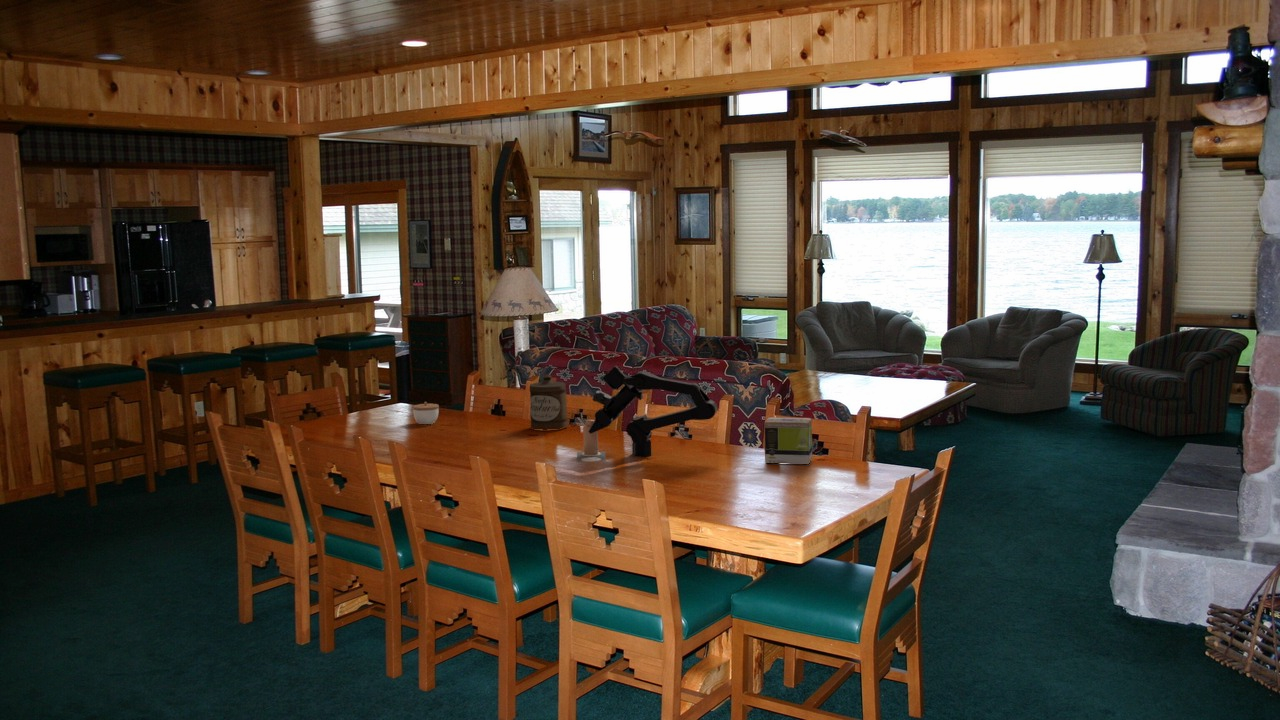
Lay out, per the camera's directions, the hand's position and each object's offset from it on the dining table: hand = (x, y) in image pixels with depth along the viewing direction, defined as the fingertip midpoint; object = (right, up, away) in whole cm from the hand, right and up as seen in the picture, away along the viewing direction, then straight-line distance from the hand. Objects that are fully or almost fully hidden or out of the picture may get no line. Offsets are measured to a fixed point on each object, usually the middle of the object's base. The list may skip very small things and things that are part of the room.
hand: (592, 430), depth 358 cm
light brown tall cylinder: (-1, -8, +1) cm, 9 cm away
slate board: (0, -10, -3) cm, 11 cm away
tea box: (+67, -10, -13) cm, 69 cm away
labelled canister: (-20, -3, +56) cm, 60 cm away
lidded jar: (-73, -2, +71) cm, 102 cm away
